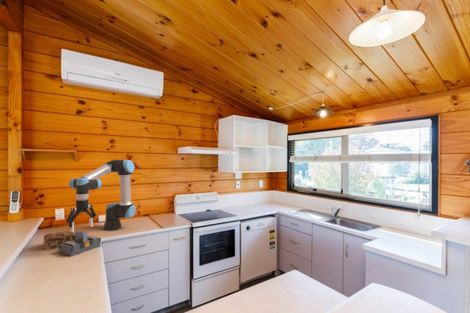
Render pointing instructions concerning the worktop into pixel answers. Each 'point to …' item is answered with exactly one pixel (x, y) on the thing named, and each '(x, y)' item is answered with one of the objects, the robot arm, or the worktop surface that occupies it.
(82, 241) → the block
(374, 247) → the worktop surface
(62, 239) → the bread
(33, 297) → the worktop surface
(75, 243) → the rack
